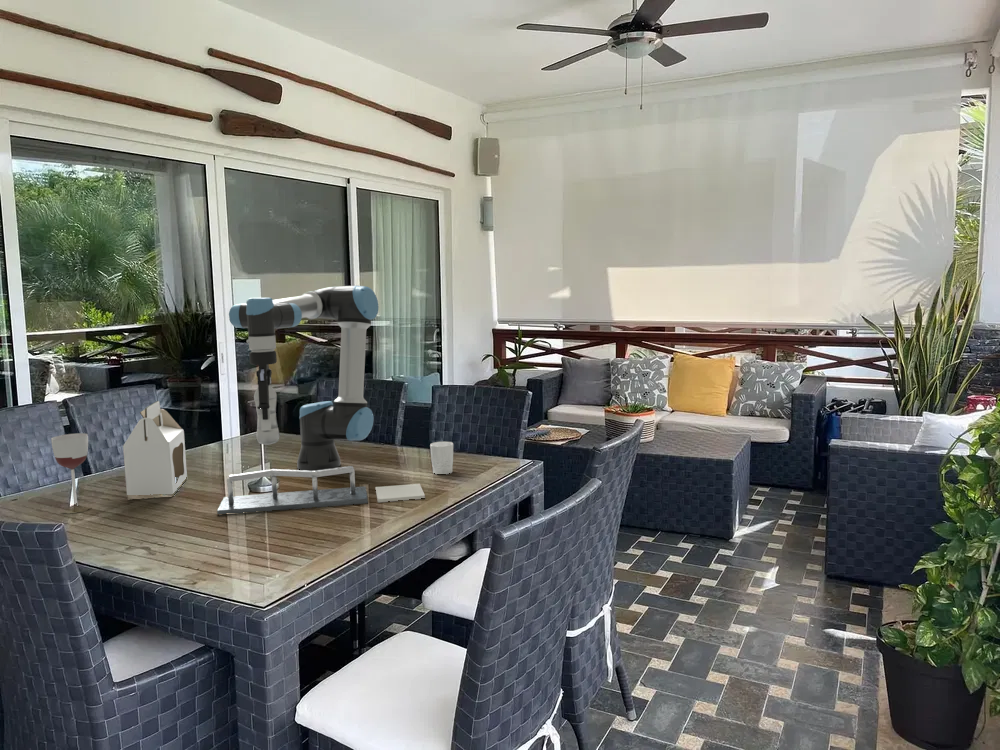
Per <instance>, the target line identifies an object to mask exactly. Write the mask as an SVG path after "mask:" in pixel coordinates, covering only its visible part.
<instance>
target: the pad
mask: <svg viewBox="0 0 1000 750" xmlns="http://www.w3.org/2000/svg"><path fill="white" fill-rule="evenodd" d="M375 490H376V491H375V494H376V499H377V503H389V502H388V501H390V502H399V501H398V500H403V501H410V500H409V499H415V500H422V499H421V498H425V499H426V494H425V492H424V490H423V488H422V486H421V483H412V484H410V483H409V484H398V485H386V486H385V485H384V486H375Z"/></svg>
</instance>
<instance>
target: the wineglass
mask: <svg viewBox="0 0 1000 750" xmlns="http://www.w3.org/2000/svg"><path fill="white" fill-rule="evenodd" d="M88 435H89V434H88V433H84V432H83V433H68V434H67V433H66V434H61V435H57V436H53V437H51V447H52V452H53V456H54V459H55V461H56V463H57V464H58V465H59V466H61V467H63V468H67V469H69V470H70V474H71V484H72V497H73V498H72V499H73V505H74V504H76V503H77V504H78V498H77V485H76V484H77V483H76V474H75V468H77V467H79V466H81V465H82V464H83V463H84V462H85V461H86V460H87V456H88V450H89V449H88V448H89V436H88Z"/></svg>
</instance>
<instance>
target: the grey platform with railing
mask: <svg viewBox="0 0 1000 750" xmlns="http://www.w3.org/2000/svg"><path fill="white" fill-rule="evenodd" d="M341 474H349V483H350V487H339V488H337V487H336V488H326V489H318V478H320V477H327V476H336V475H341ZM355 474H356V473H355V468H354V466H353V465H347V466H341V467H340V466H339V467H337V468H332V469H324V470H317V471H308V470H299V469H283V468H280V469H279V468H272V469H265V470H258V471H257V470H256V471H249V472H242V473H235V474H229V475H228V477H227V478H226V483H227V487H226V488H227V496H224V497H223V499H222V500H221V502H220V504H219V506H218V508H217V510H216V512H217V514H226V513H243V512H256V511H268V512H273V511H272V510H280V511H290V510H289V509H292V510H302V508H305V509H313V508H312V507H317V508H327V507H328V506H329V507H337V506H338V507H339V506H350V505H351V506H352V505H353V504H354V505H363V504H365V503H366V504H368V503H369V500H368V492H367V487H366V485H364V486H356V477H355V476H356V475H355ZM277 476H278V477H294V478H295V477H297V478H298V477H299V478H311V481H312V483H311V485H312V486H311V487H312V490H311V489H310V490H298V491H297V490H296V491H287V492H286V491H285V492H278V482H277ZM267 477H271V491H272V493H260V494H259V493H258V494H247V495H236V496H234V489H233V487H234V486H233V482H239V481H246V480H253V479H258V478H267ZM256 513H257V512H256ZM243 514H244V513H243Z"/></svg>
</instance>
